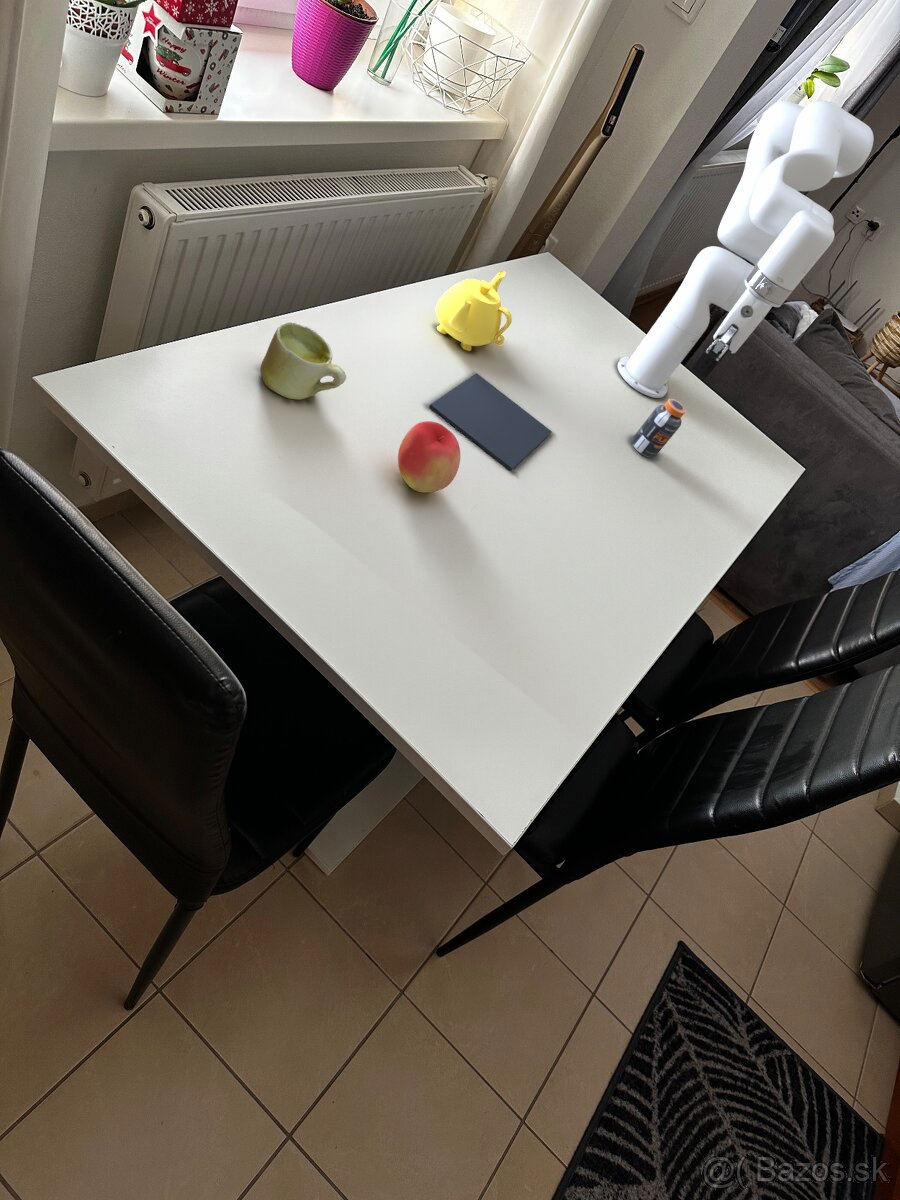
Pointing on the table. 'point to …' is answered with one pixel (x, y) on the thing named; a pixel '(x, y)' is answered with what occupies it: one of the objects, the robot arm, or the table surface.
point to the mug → (299, 363)
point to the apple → (428, 457)
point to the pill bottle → (658, 428)
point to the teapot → (473, 312)
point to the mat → (491, 420)
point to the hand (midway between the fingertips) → (704, 365)
